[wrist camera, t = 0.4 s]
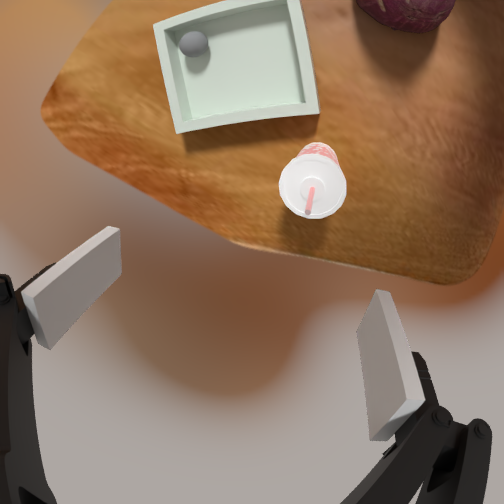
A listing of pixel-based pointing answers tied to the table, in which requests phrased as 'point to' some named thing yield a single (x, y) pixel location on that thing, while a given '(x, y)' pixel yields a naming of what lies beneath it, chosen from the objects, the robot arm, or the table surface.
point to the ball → (193, 44)
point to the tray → (239, 64)
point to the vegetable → (408, 13)
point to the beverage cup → (313, 182)
